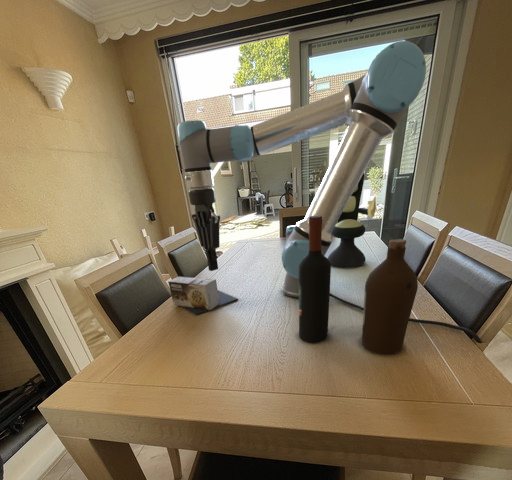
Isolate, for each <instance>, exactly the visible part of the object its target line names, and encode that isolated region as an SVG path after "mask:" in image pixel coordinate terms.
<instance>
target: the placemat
mask: <svg viewBox="0 0 512 480" xmlns="http://www.w3.org/2000/svg"><path fill="white" fill-rule="evenodd" d="M218 296H219V303H220V304H218V305H217V306H216V307H214V308H213V309H211V310H205V309H199V308H192V307H185V306H181V307H182V308H183V309H185V310H187V311H188V312H190V313H191V314H193V315H195V316H199V315H201V314H204V313H207V312H209V311H210V312H211V311H212V310H215V309H217V308H221V307H223V306H226V305H228V304H231V303H233V302H236V301H238V300H239V299H238V298H237V297H235V296H233V295H230V294H228V293H225V292H223V291H221V290H218Z"/></svg>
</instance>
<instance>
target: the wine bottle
mask: <svg viewBox="0 0 512 480" xmlns="http://www.w3.org/2000/svg"><path fill="white" fill-rule="evenodd" d="M321 236H322V216H310V217H309V252H308V255H307V256H306V257H305V258H303V259H302V261H301V262H300V264H299V298H298V337H299V339H300V340H301V341H303V342H305V343H309V344H319V343H323V342H325V341H326V340H327V339H328V336H329V315H330V297H331V296H330V293H331V275H332V274H331V273H332V266H331V263H330V262H329V260H328V259H327V258H328V257H327V256H326V255H325V256H324V255H323V254H322V252H321Z"/></svg>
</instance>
